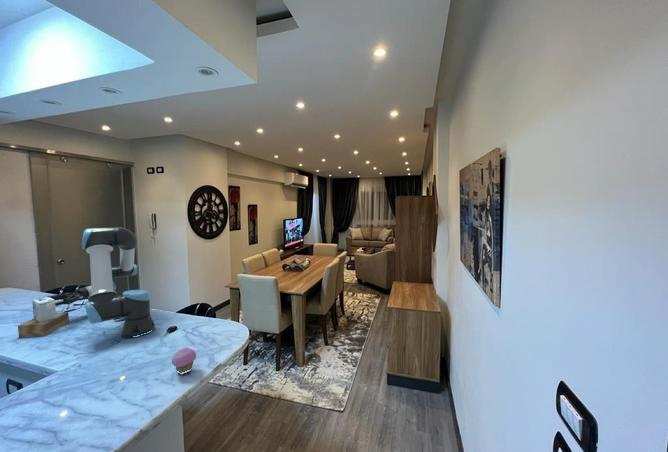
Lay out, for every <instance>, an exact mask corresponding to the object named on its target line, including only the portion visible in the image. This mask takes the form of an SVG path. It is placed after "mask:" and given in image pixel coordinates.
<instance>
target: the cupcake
mask: <svg viewBox="0 0 668 452" xmlns="http://www.w3.org/2000/svg"><path fill="white" fill-rule="evenodd" d="M196 358H197V352H196V351H195V350H194V349H192V348H190V347H183V348H180V349H178V351H176V353H174V355H173V356H172V358H171V364H172V365H173V366H174V367H175V369H176V370H177V371H179V372H180V373H182V372H185V371H187V370H190V369H191V368H192V369H193V365H194V361H195V360H196ZM177 371H176V372H177Z"/></svg>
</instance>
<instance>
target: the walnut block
mask: <svg viewBox="0 0 668 452" xmlns="http://www.w3.org/2000/svg"><path fill="white" fill-rule="evenodd" d="M69 315H70V314H69V312H68V311H67V312H66V311H65V312H56V318H55V319H51V320H47V321H43V322H38V321H37V320H35V319H34V318H32V319H30V320H27V321H26V322H23V323H20V324H19V325H17V331H18V332H17V333H18V338H19V339H20V338H30V337H31V338H33V337H35V338H37V337H47V336H48V335H49V334H52V333H53V332H56V331H58V330H59V329H60V327H61V328H63V327H64V326H66V325H68V324H69V323H70V318H69ZM62 326H63V327H62ZM58 328H59V329H58Z"/></svg>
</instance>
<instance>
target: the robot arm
mask: <svg viewBox="0 0 668 452" xmlns="http://www.w3.org/2000/svg"><path fill="white" fill-rule="evenodd" d="M81 239H82V240H81V248H82V250H85V252H86V253H87V254H89V264H90V281H91V282H90V283H91V284H90V285H88V286H85V287H80V288H77V289H76V290H75V292H66V293H65V292H64V293H59V294H54V295H48V296H46V297H50V298H52V299H54V300H55V302H52V303H48V304H46V307H47V309H49V308H53V307H55V308H56V307H60V306H63V305H66V306H67V305H68V306H69V305H71V304H73V303H75V302H77V301H80V302H81V301H84V302H83V303H84V307H85V312H86V316H87V320H88V322H89V323H90V324H97V323H103V322H107V321H111V320H116V319H120V318H123V320H124V321H123V324H122V329H121V330H120V336H121V338H123V339H130V338H129V337H133V336H137V335H141V334H144V333H147V332H149V331H151V330H153V329H154V328H156V325H155V322H154V320H153V318H152V316H151V304H150V300H151V298H150V293H149V291H148V290H145V289H130V290H126V291H123V292H122V295H118V292H117V291H116V289H117V285H116V283H115V281H114V280H113V279H116V278H124V277H131V276H136V275H137V274H138V265H137V264H135V252H136V248H137V246H138V239H137V236H136V235H135V233H133V231H131V230H129V229H128V228H125V227H121V226H114V227H112V226H111V227H93V228H86V229H84V230H83V234H82V237H81ZM117 247H118V248H119V266H112V262H111V261H112V260H111V258H112V257H111V252H112V251H114V248H117ZM85 300H86V301H85ZM31 303H32V302H31ZM32 306H33V303H32ZM154 330H155V329H154ZM154 330H153V331H154Z"/></svg>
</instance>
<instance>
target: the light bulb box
mask: <svg viewBox="0 0 668 452" xmlns="http://www.w3.org/2000/svg"><path fill="white" fill-rule="evenodd" d="M52 302H56V300H54V299H52V298H50V297H47V296H46V297H42V298H36V299H32V301H31V303H33V305H32V314H33V315H32V316H33V318H32V319H35V320H37V321H38V322H43V321H47V320H51V319H55V318H56V313H57V312H56V307H53V308H49V309H47V307H46V304H48V303H52Z"/></svg>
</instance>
